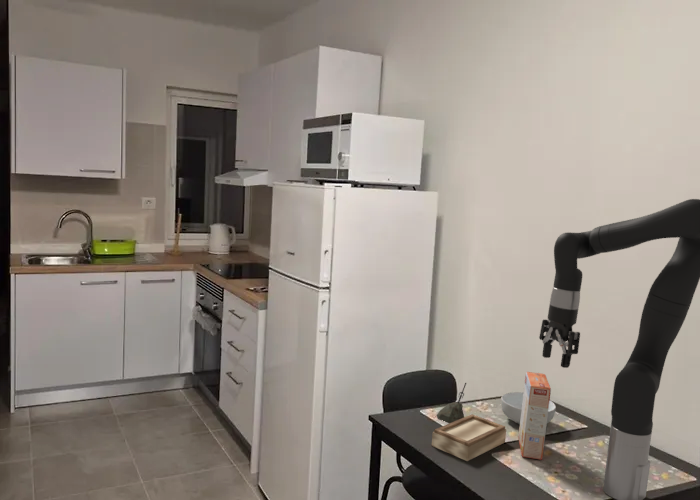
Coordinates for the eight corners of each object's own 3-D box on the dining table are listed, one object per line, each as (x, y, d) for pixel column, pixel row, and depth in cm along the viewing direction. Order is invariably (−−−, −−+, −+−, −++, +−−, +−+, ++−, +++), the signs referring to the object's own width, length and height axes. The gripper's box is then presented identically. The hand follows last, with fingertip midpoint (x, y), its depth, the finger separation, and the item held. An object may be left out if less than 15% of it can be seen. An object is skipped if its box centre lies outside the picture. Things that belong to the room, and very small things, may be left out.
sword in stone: (442, 424, 190) (445, 387, 189) (433, 416, 198) (435, 379, 197) (472, 423, 193) (475, 386, 192) (461, 415, 200) (464, 379, 199)
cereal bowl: (490, 421, 196) (492, 400, 195) (511, 408, 209) (513, 388, 208) (542, 437, 185) (545, 415, 185) (560, 422, 199) (563, 401, 198)
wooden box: (505, 442, 180) (506, 426, 179) (467, 461, 166) (468, 444, 165) (470, 428, 188) (471, 413, 188) (431, 445, 174) (432, 429, 173)
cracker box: (543, 461, 169) (552, 388, 167) (521, 457, 170) (529, 385, 168) (538, 440, 183) (546, 373, 180) (517, 437, 184) (525, 370, 182)
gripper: (592, 312, 161) (583, 371, 164) (560, 299, 175) (551, 354, 177) (568, 310, 159) (559, 370, 161) (537, 298, 173) (529, 353, 175)
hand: (555, 362), depth 169 cm, fingers open, 8 cm apart
